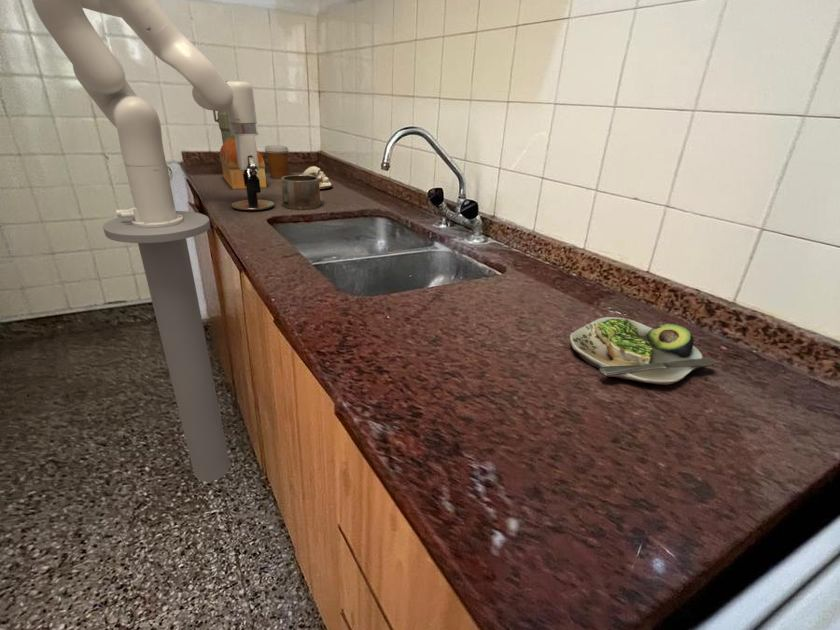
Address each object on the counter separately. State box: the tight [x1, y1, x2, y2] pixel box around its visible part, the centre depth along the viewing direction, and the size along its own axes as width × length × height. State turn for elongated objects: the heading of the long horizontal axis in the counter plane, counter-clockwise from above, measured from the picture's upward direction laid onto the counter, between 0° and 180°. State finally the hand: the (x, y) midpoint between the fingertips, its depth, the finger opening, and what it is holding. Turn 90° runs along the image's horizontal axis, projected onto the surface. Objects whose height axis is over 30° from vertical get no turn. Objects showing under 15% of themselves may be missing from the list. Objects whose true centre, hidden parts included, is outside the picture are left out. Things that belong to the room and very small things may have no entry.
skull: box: [302, 165, 333, 190], centre depth 171 cm, size 12×10×10 cm
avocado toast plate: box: [569, 316, 717, 386], centre depth 66 cm, size 19×18×5 cm
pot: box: [280, 174, 321, 210], centre depth 143 cm, size 11×11×8 cm
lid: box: [231, 183, 275, 212], centre depth 138 cm, size 12×12×7 cm
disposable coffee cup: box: [264, 144, 290, 179], centre depth 186 cm, size 10×10×12 cm
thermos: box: [212, 80, 235, 145], centre depth 185 cm, size 9×12×35 cm
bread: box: [219, 139, 267, 190], centre depth 172 cm, size 25×12×15 cm, turn 29°
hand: (252, 189), depth 137 cm, fingers open, 9 cm apart
